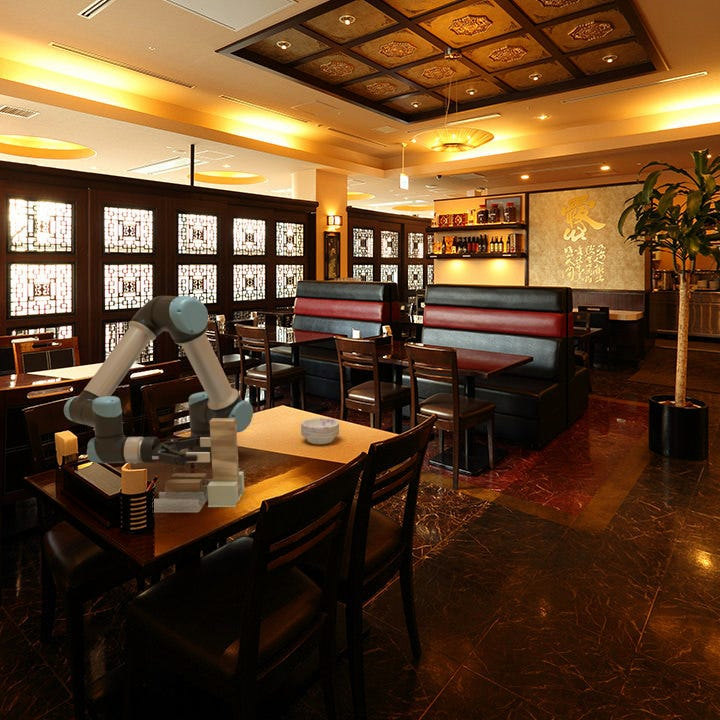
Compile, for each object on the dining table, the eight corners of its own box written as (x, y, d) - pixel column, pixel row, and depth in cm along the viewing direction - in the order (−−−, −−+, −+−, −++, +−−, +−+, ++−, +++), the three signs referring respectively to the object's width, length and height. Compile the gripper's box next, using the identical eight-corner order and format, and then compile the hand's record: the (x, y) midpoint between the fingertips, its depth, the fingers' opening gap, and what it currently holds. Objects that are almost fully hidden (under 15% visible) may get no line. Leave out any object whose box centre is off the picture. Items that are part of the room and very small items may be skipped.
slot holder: (219, 493, 173) (218, 470, 171) (245, 493, 173) (244, 470, 171) (207, 511, 160) (206, 487, 159) (235, 511, 160) (234, 486, 159)
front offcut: (169, 498, 166) (168, 479, 165) (203, 498, 165) (201, 479, 164) (166, 502, 163) (165, 482, 162) (200, 502, 163) (199, 482, 162)
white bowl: (341, 435, 230) (341, 417, 228) (336, 447, 215) (336, 428, 214) (305, 435, 231) (304, 416, 230) (297, 446, 216) (297, 427, 215)
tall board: (216, 495, 168) (212, 418, 164) (239, 495, 167) (236, 418, 163) (214, 499, 165) (209, 421, 161) (237, 499, 165) (233, 421, 160)
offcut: (175, 492, 170) (173, 473, 169) (207, 492, 170) (206, 473, 169) (172, 495, 168) (170, 476, 167) (205, 495, 168) (204, 476, 167)
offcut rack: (174, 491, 174) (173, 476, 174) (216, 491, 174) (215, 476, 173) (153, 517, 157) (151, 500, 156) (199, 517, 157) (197, 500, 156)
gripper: (159, 448, 176) (226, 447, 176) (127, 478, 152) (204, 477, 152) (158, 425, 175) (225, 424, 175) (125, 451, 150) (203, 451, 150)
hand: (216, 449), depth 163 cm, fingers open, 13 cm apart
